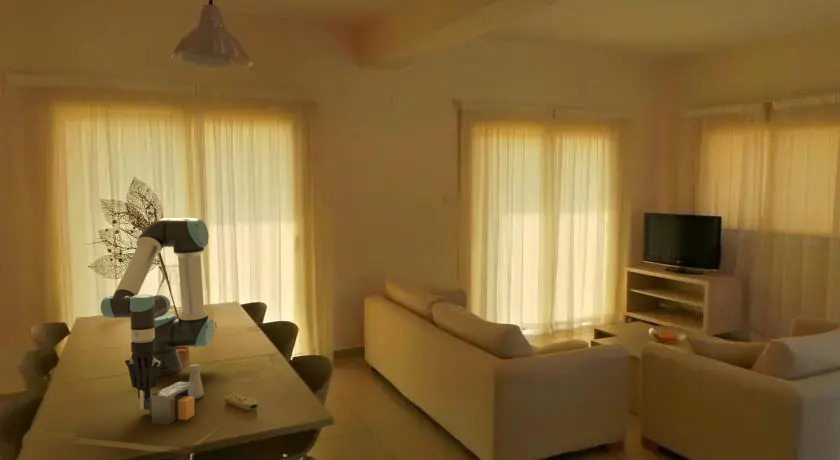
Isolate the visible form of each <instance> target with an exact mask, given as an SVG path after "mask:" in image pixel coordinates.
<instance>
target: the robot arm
mask: <svg viewBox="0 0 840 460" xmlns="http://www.w3.org/2000/svg"><path fill="white" fill-rule="evenodd" d="M209 238H210V236H209V230H208V227H207V225H206V222H204V220H202V219H200V218H193V217H179V218H177V217H175V218H172V217H171V218H170V217H169V218H168V217H167V218H166V217H165V218H160V219H158V220H156V221H153V222H151V224H149V225H148V226H147V227H145V229H144V230H143V231H142V232H141V233H140V235H139V236H138V239H137V241H136V245H135V246H136V248H135V250H134V252H133V255H132V256H131V258H130V261H129V262H128V265H127V267H126V269H125V272H124V274H123V275H122V278H121V280H120V281H119V283H118V286H117V287H116V289H115V291H114V293H113V295H110V296H105V297H104V298H103V299H102V300H101V303H100V313H101V314H102V315H103V317H105V318H110V319H112V318H113V319H118V318H119V319H120V318H121V319H123V318H124V319H126V318H127V319H129V318H130V341H131V342H130V352H131V357H130V358H128V359H126V360H125V361H124V362H125V365H126V366H127V369H128V374H129V378H130V383H131V385H132V388H133V389H134V388H135V389H137V398H138V399H139V409H140V410H144V402H143V401H144V400H146V399H149V398H150V397H151V389H154V388H155V387H156V386H157V380H158V377H163V376H169V375H174V374H176V373H178V372H180V371H181V370H182V368H183V366H182V365H183V364H182V362H181V359H180V355H179V353H178V348H181V347H182V348H184V347H185V348H186V347H187V348H189V347H190V348H199V347H207V346H208V345H209V344H210V342H211V341H212V338H213V335H214V331H215V322H214V319H213V318H211V317H209V313H208V311H205V307H204V291H203V276H202V260H201V254H202V253H203V252H204V250H205V247H207V246H208V244H209ZM166 247H167V248H173V253H174V254H175V255H176V256H177V261H178V275H179V276H178V277H179V288H180V290H179V291H180V303H181V313H180V314H179V315H178V316H177V315H176V314H167V313H168V312H169V311H170V309H171V302H170V299H169V298H168V297H167V296H166V295H162V294H159V295H157V294H156V295H152V294H146V293H145V294H139V293H140V291H141V289H142V287H143V284H144V283H145V281H146V278H147V276H148V273H149V271H150V269H151V267H152V265H153V262H154V260H155V259H156V256H157V255H159V254H160V253H161V252H162V250H163V249H164V248H166ZM177 317H178V318H177Z"/></svg>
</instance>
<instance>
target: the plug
mask: <svg viewBox="0 0 840 460" xmlns="http://www.w3.org/2000/svg"><path fill="white" fill-rule="evenodd" d="M143 402H144V409H143V410H145V411H149V417H151V418H152V399H151V396H150V398H149V399H146V400H144V401H143ZM194 416H195V408H194V397H193V396H181V395H175V420H185V421H187V420H189V419H191V418H192V417H194Z"/></svg>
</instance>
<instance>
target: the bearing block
mask: <svg viewBox="0 0 840 460" xmlns="http://www.w3.org/2000/svg"><path fill="white" fill-rule="evenodd" d="M175 395H181V396H193V397H194V409H195V408H196V407H195V406H196V402H195V401H196V399H195V393H194V383H193V382H189V381H177V382H175V383H172V384H171V385H170V386H167V387H164V388H162V389H161V390H158V391H157V392H155V393H153V394H150V397H151V399H152V417H151V424H157V425H166V426H167V425H168V426H169V425H170V424H172V423H173V422H175V421H176V419H175Z"/></svg>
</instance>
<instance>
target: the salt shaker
mask: <svg viewBox="0 0 840 460" xmlns="http://www.w3.org/2000/svg"><path fill="white" fill-rule="evenodd" d="M201 369H202V366H201V365H200V364H199V363H193V364H190V365H188V372H189V373H190V374H189V380H188V382H193V383H194V393H195V400H196V399H197V400H198V399H200V398H202V397H203V396H204V388H203V383H202V377H201V373H200V372H201Z"/></svg>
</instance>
